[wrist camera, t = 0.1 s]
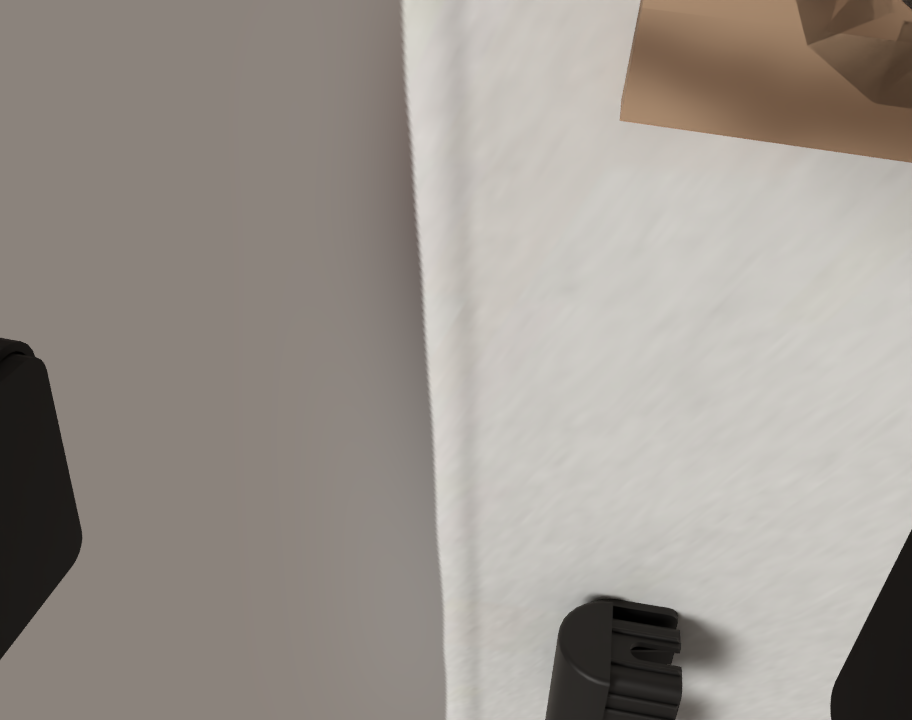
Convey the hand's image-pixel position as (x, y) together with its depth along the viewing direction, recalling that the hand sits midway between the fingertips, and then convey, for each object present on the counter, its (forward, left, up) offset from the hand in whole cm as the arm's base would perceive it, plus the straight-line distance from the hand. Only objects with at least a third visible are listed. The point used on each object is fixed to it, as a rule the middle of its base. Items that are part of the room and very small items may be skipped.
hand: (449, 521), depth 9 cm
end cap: (+38, +8, -32) cm, 50 cm away
